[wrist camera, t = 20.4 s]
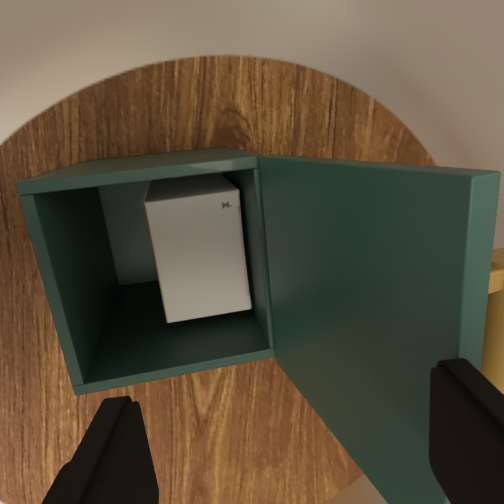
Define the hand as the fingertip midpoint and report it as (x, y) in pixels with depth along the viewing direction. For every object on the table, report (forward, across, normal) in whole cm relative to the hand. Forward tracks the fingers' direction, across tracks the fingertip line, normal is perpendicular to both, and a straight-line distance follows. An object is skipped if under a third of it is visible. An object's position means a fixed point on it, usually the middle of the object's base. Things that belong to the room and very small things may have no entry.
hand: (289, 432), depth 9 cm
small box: (+25, +5, -1) cm, 26 cm away
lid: (+6, -2, 0) cm, 6 cm away
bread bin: (+25, +7, -1) cm, 26 cm away
